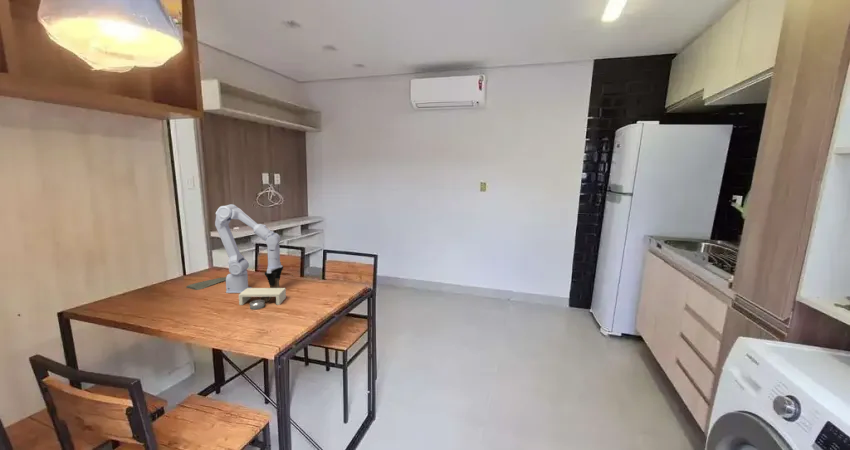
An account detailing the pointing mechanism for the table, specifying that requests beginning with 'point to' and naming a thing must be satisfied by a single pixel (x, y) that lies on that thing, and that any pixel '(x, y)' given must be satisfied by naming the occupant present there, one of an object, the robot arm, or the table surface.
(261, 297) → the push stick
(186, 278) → the table surface
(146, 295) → the table surface
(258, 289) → the plinth shelf
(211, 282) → the stone slab
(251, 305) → the steel token
